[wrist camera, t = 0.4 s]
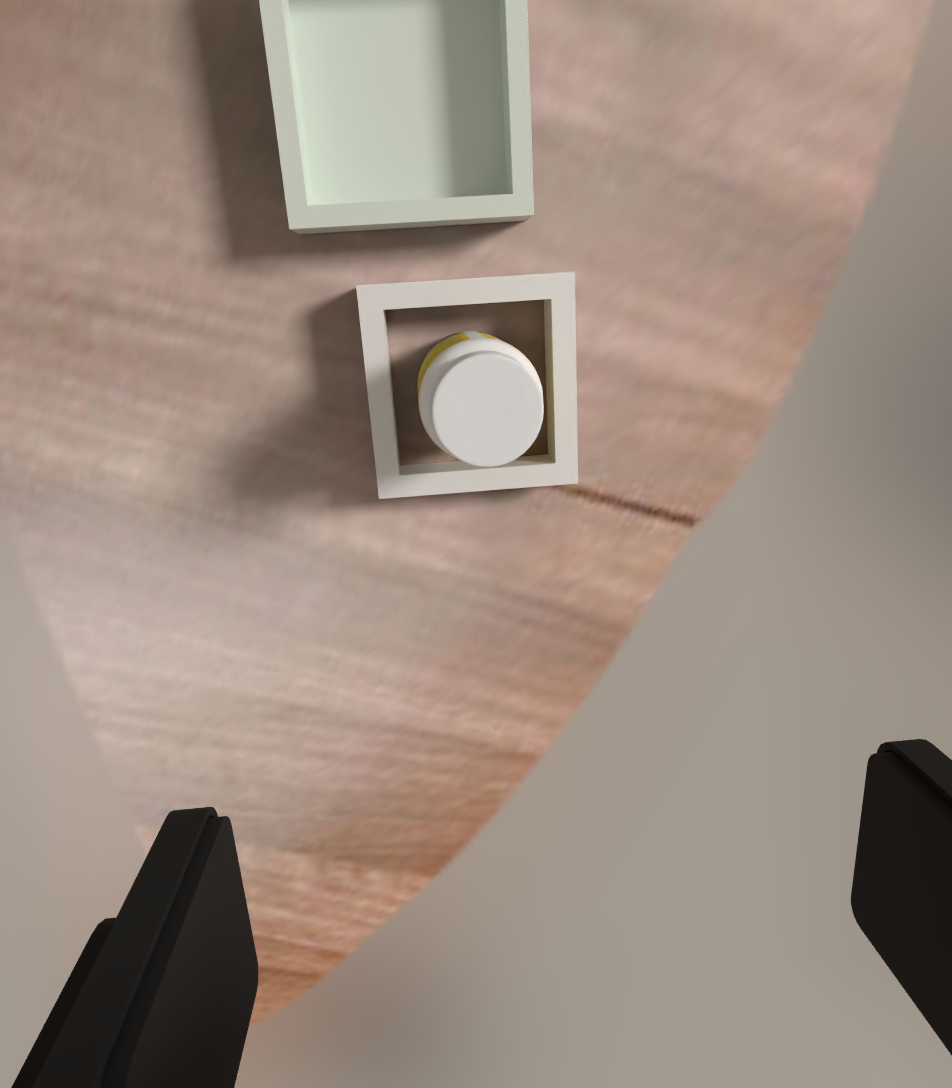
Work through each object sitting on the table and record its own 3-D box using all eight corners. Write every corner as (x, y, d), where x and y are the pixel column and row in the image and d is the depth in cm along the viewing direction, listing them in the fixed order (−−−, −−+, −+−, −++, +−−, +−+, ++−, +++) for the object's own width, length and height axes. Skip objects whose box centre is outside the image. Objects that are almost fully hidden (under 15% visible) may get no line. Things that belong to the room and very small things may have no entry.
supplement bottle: (417, 435, 34) (418, 478, 26) (416, 329, 32) (416, 340, 25) (520, 436, 34) (551, 477, 26) (523, 331, 33) (558, 342, 25)
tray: (263, -41, 28) (249, -72, 25) (515, -50, 28) (524, -82, 26) (299, 234, 31) (289, 229, 28) (525, 221, 31) (534, 215, 29)
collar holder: (359, 286, 32) (355, 285, 30) (565, 273, 32) (574, 271, 30) (380, 487, 35) (379, 498, 33) (569, 473, 35) (577, 483, 33)
